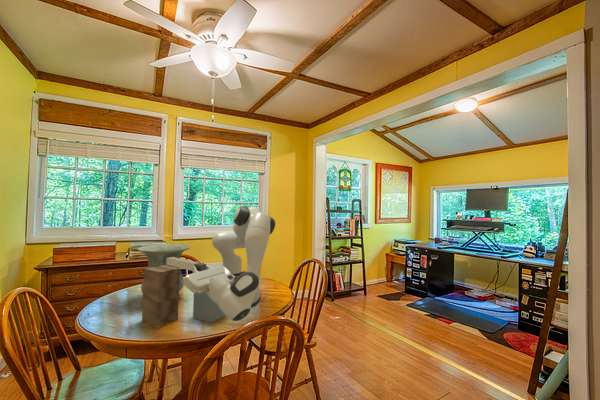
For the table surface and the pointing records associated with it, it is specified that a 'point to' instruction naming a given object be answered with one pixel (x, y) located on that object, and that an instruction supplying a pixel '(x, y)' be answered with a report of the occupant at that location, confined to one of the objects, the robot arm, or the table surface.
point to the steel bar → (185, 264)
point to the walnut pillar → (160, 295)
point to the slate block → (206, 308)
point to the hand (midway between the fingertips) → (197, 265)
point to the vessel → (163, 256)
